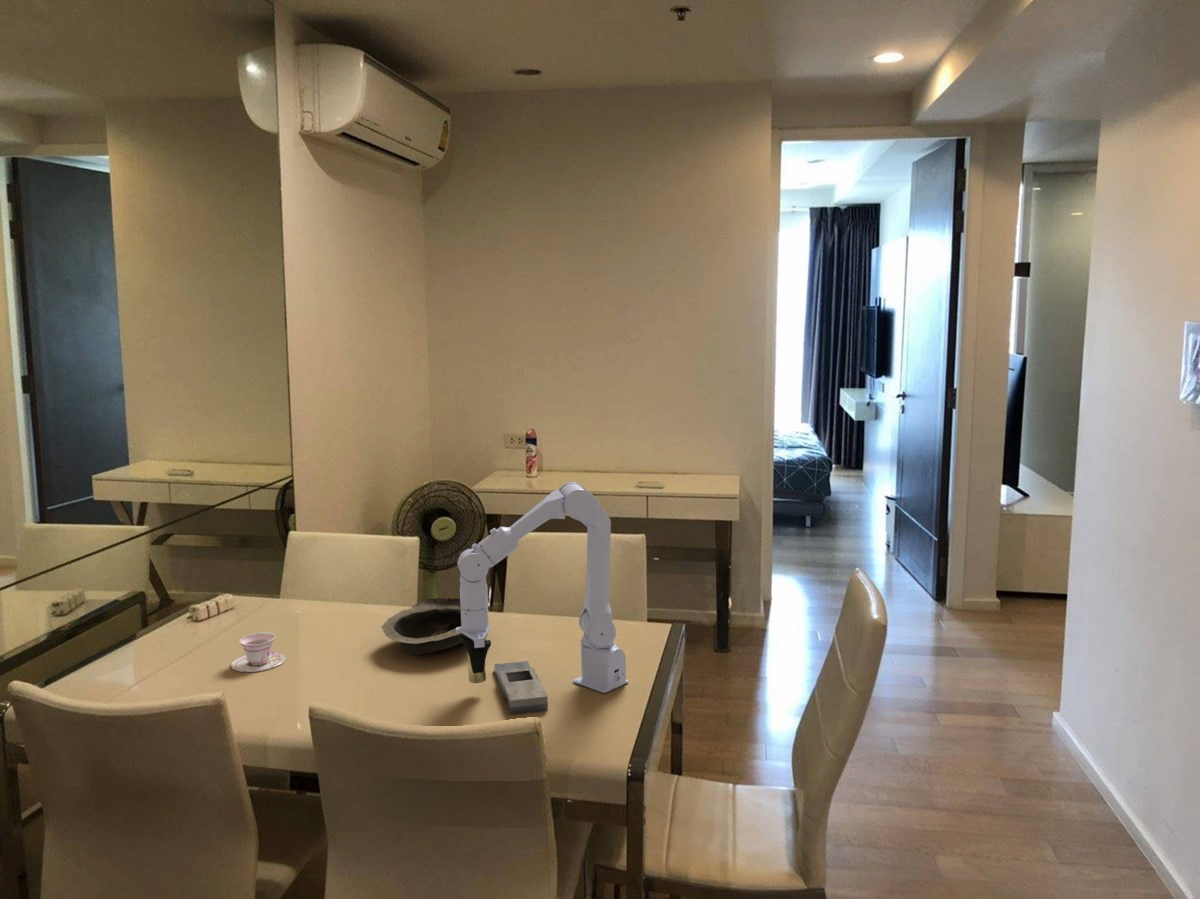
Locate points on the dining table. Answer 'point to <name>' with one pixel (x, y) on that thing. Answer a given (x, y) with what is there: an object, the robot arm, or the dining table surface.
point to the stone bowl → (426, 626)
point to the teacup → (257, 653)
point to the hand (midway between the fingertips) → (476, 668)
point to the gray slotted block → (521, 687)
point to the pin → (475, 674)
